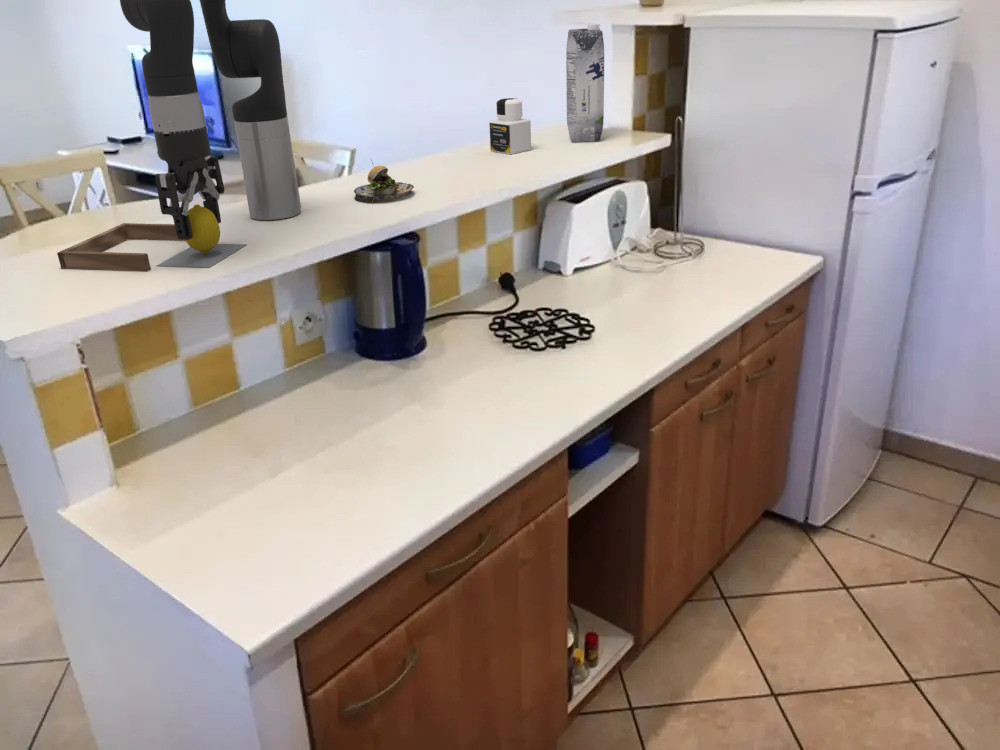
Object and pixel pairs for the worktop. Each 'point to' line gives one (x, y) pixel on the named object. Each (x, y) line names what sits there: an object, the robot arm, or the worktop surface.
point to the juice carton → (585, 83)
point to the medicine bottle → (510, 128)
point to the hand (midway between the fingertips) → (200, 231)
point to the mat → (202, 256)
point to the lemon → (203, 229)
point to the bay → (92, 248)
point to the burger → (380, 187)
